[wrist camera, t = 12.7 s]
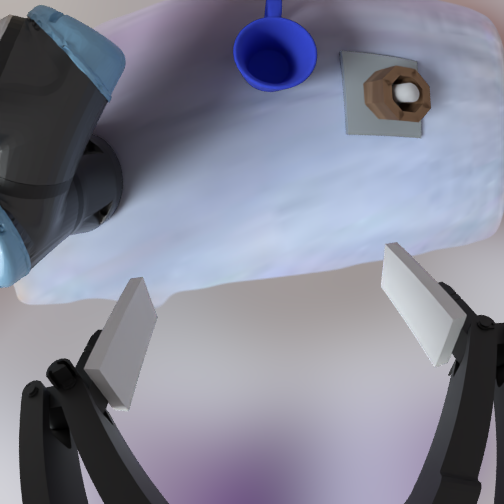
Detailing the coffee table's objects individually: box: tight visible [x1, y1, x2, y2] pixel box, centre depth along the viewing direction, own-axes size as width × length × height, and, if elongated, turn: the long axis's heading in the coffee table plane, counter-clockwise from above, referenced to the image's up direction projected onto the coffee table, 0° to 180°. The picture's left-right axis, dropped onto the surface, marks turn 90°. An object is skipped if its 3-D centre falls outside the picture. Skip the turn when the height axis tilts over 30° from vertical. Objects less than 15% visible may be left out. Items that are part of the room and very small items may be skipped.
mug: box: [233, 0, 317, 92], centre depth 26 cm, size 8×12×10 cm
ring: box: [363, 66, 431, 123], centre depth 29 cm, size 7×7×6 cm
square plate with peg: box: [339, 51, 421, 138], centre depth 29 cm, size 12×12×8 cm
